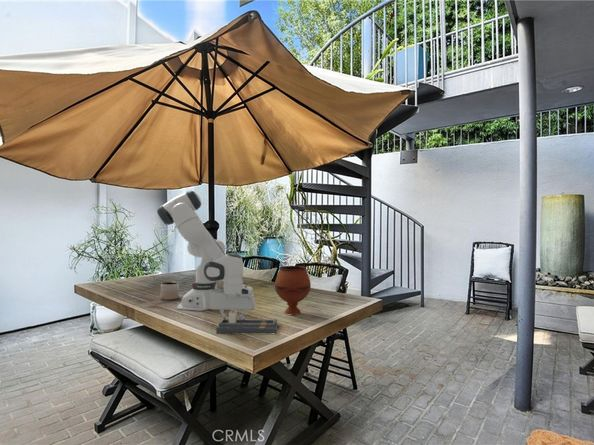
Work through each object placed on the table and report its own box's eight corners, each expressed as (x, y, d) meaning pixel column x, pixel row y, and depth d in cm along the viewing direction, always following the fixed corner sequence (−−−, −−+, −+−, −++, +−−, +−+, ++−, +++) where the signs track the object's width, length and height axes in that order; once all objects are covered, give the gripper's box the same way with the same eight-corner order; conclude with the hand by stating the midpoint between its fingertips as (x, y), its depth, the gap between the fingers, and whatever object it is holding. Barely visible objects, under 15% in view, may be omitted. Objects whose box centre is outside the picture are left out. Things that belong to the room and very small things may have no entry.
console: (216, 333, 147) (216, 324, 147) (222, 324, 160) (222, 315, 160) (275, 334, 147) (275, 324, 147) (277, 324, 160) (277, 316, 160)
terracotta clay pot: (267, 313, 181) (267, 266, 181) (292, 307, 195) (293, 263, 194) (291, 320, 167) (292, 270, 167) (317, 313, 181) (318, 267, 181)
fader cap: (228, 324, 152) (228, 312, 152) (230, 321, 156) (230, 310, 156) (235, 324, 152) (235, 312, 152) (236, 321, 156) (237, 310, 156)
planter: (156, 299, 209) (156, 284, 209) (168, 295, 220) (168, 281, 220) (171, 300, 206) (171, 285, 206) (182, 297, 216) (182, 282, 216)
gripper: (208, 290, 151) (208, 320, 151) (254, 290, 151) (253, 321, 151) (212, 287, 157) (211, 316, 157) (256, 287, 157) (255, 317, 157)
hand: (232, 319), depth 154 cm, fingers open, 6 cm apart
